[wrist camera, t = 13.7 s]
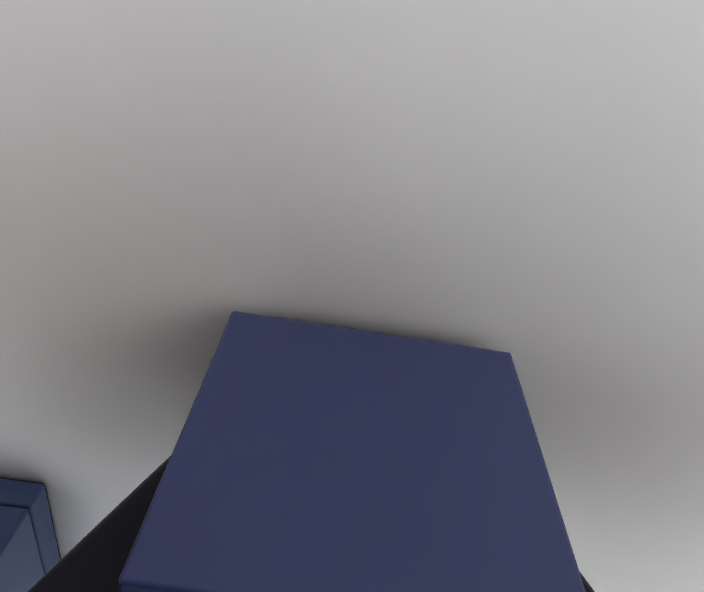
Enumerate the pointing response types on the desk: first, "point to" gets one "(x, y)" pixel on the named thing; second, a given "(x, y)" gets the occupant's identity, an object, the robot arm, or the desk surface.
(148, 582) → the blue block
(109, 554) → the robot arm
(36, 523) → the blue tray
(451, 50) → the desk surface
